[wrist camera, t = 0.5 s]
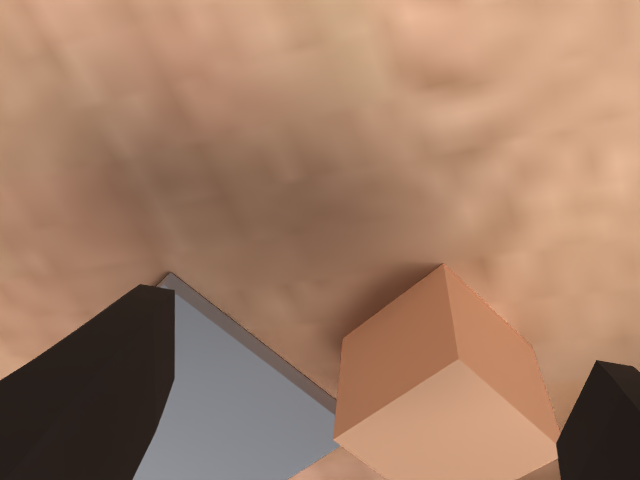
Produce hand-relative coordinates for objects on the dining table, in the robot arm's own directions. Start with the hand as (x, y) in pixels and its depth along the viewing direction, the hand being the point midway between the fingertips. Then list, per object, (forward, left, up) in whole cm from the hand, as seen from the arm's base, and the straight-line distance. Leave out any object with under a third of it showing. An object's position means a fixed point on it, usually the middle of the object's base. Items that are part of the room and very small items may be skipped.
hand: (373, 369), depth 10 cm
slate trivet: (-3, +14, -10) cm, 17 cm away
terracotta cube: (-7, +4, -10) cm, 13 cm away
